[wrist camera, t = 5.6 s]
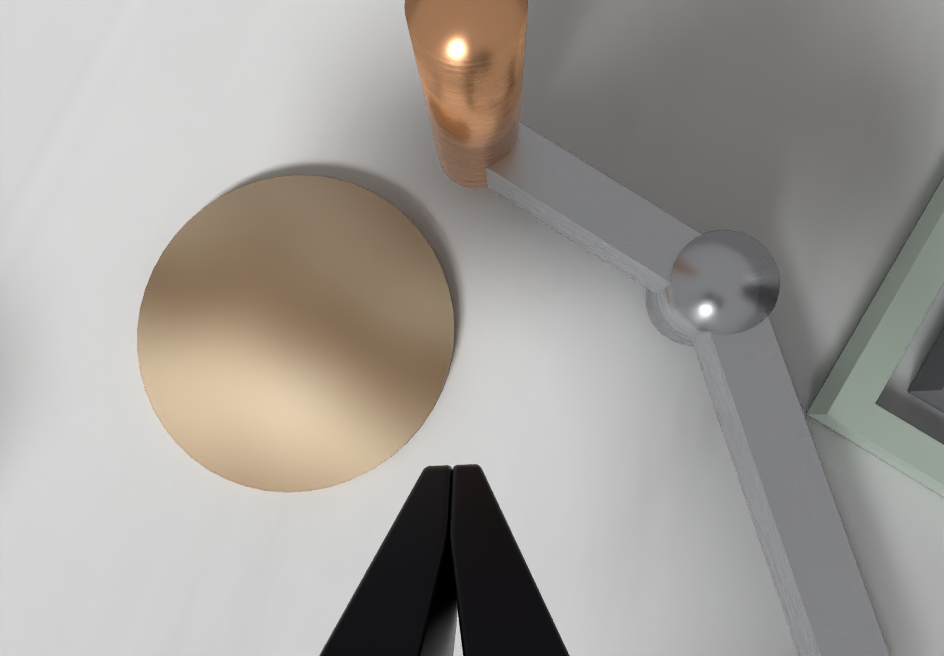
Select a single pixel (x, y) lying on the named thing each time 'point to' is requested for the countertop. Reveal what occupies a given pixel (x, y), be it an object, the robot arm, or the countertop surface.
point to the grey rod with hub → (659, 304)
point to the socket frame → (890, 357)
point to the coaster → (295, 333)
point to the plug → (931, 377)
